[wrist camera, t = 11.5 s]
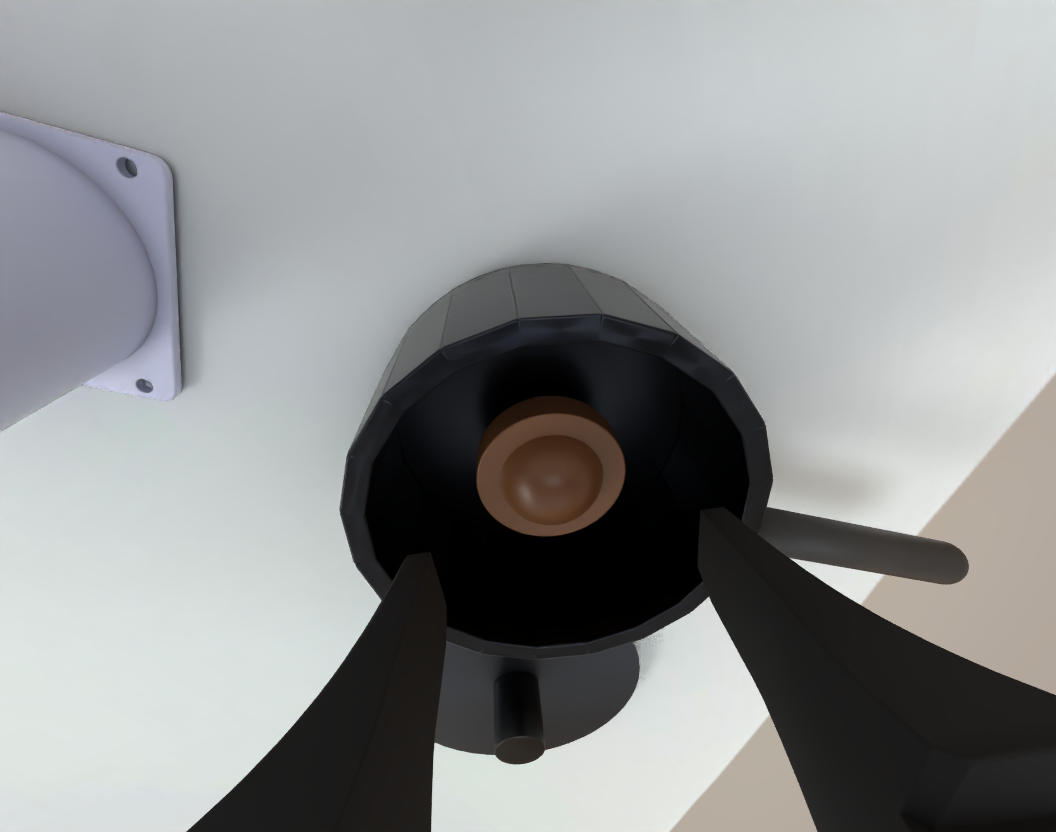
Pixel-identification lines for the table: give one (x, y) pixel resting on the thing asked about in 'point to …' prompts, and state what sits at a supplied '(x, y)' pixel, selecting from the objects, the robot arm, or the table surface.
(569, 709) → the lid
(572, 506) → the mushroom
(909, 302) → the table surface
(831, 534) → the pan handle
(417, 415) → the pan
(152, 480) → the table surface
